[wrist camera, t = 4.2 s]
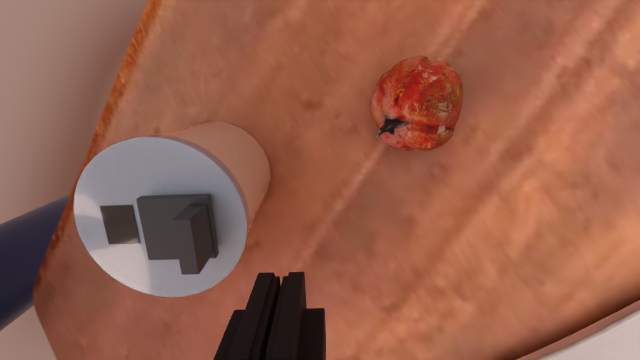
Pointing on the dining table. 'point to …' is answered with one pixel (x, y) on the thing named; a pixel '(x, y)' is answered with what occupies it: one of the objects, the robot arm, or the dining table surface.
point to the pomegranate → (417, 104)
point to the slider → (179, 229)
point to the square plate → (599, 340)
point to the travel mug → (170, 179)
